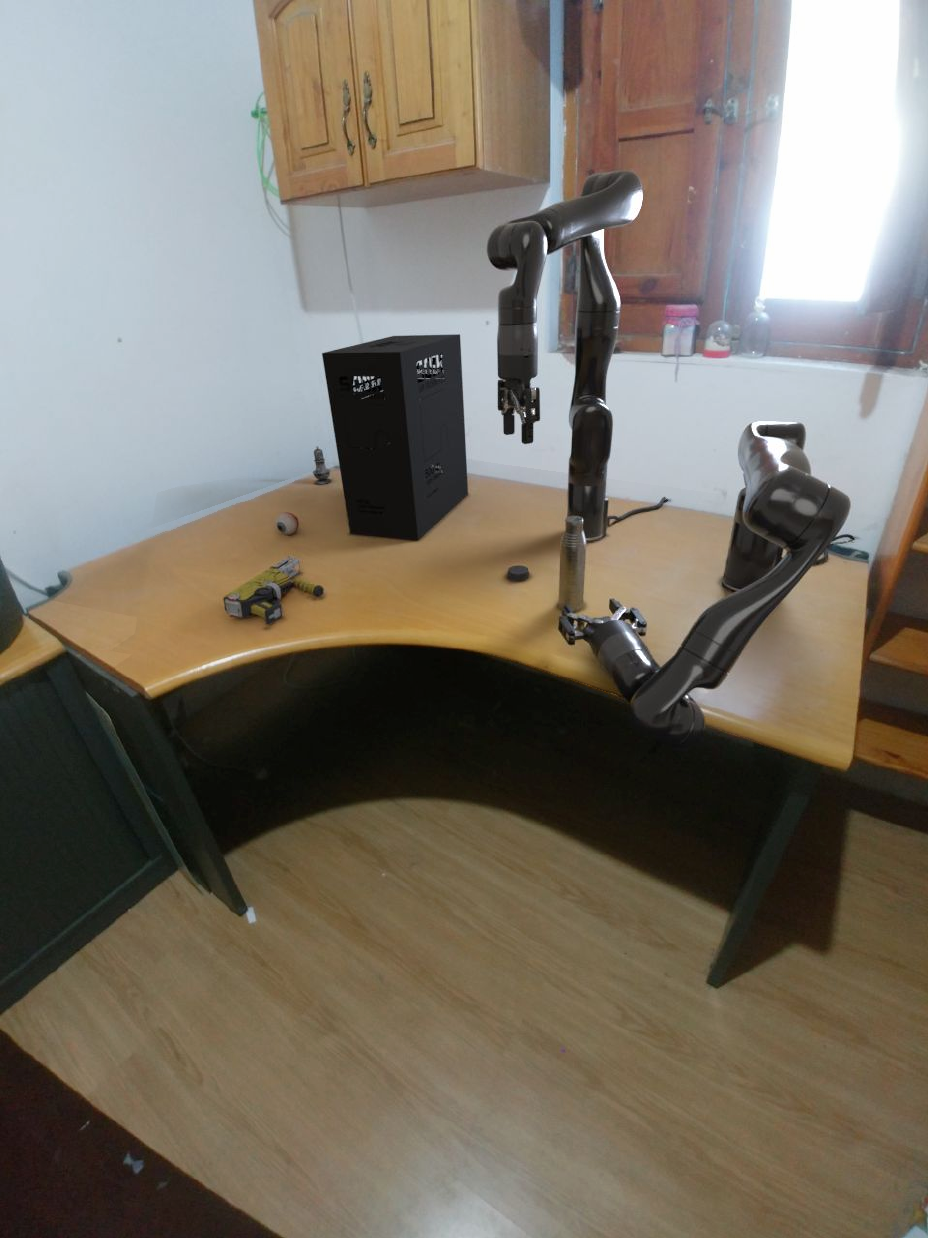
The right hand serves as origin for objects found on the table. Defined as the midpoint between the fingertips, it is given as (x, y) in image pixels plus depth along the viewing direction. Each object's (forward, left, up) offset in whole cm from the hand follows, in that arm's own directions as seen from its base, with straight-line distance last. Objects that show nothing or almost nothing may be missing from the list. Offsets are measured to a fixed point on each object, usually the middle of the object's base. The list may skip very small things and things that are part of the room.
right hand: (588, 605), depth 110 cm
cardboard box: (+27, -75, -6) cm, 80 cm away
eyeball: (+62, -68, -6) cm, 92 cm away
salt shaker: (+55, -115, -6) cm, 128 cm away
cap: (+7, -27, -5) cm, 28 cm away
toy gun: (+58, -29, -6) cm, 65 cm away
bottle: (0, -11, -6) cm, 13 cm away
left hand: (+7, -27, +25) cm, 37 cm away
